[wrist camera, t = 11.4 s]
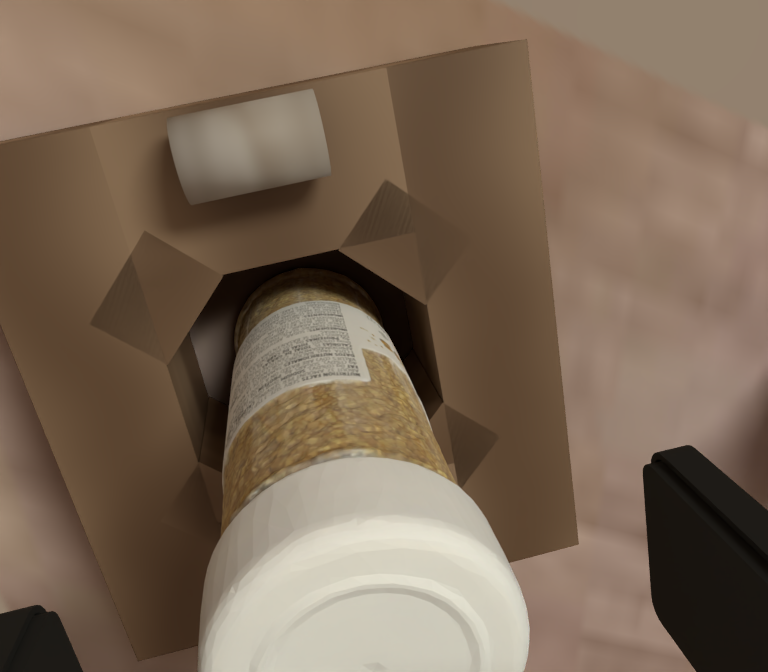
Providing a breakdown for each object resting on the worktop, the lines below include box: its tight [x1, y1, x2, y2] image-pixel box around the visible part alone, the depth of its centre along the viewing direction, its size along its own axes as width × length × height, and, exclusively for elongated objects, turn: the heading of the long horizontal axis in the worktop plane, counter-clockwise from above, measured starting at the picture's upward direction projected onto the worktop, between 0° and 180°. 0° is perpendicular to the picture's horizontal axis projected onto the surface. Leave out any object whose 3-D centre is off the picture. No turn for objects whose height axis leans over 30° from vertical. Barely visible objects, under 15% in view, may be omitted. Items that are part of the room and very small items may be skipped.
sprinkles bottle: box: [198, 268, 530, 672], centre depth 16 cm, size 5×5×14 cm
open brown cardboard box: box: [0, 39, 579, 661], centre depth 19 cm, size 13×14×6 cm
